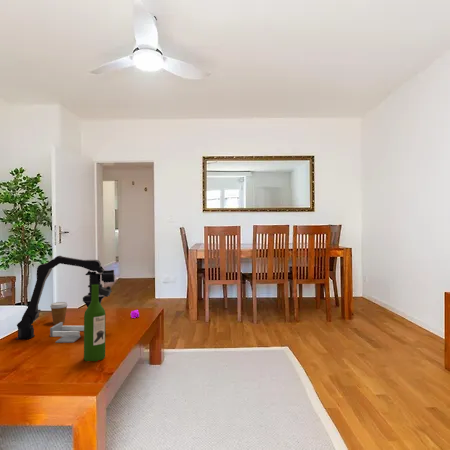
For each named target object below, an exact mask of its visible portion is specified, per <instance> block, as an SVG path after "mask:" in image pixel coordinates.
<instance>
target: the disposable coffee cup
mask: <svg viewBox="0 0 450 450" xmlns="http://www.w3.org/2000/svg"><path fill="white" fill-rule="evenodd" d="M67 308H68V302H67V301H56V302H51V304H50V310H51V316H52V317H51V318H52V324H53V325H54V326H55V325H56V324H58V323H60V322H63V324H65V323H66V315H67V314H66V313H67Z"/></svg>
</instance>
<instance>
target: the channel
mask: <svg viewBox="0 0 450 450" xmlns="http://www.w3.org/2000/svg"><path fill="white" fill-rule="evenodd" d="M63 324H64V323H63V322H60V323H58V324H56V325H55V324H54V325H53V326H52V327H50V328H49V330H50V331H49V337H56V338H57V337H60V338H62V337H63V336H81V334H80V333H81V332H84V325H63Z"/></svg>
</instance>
